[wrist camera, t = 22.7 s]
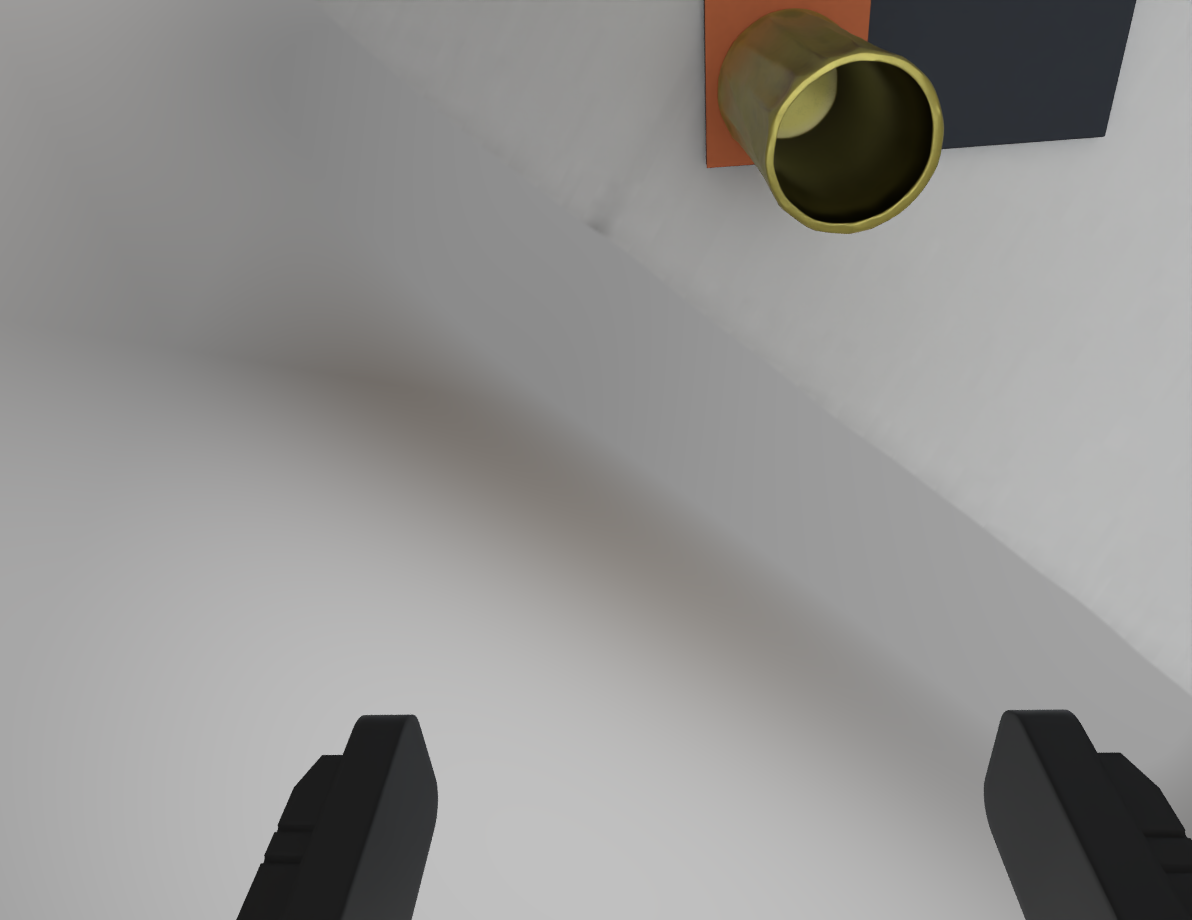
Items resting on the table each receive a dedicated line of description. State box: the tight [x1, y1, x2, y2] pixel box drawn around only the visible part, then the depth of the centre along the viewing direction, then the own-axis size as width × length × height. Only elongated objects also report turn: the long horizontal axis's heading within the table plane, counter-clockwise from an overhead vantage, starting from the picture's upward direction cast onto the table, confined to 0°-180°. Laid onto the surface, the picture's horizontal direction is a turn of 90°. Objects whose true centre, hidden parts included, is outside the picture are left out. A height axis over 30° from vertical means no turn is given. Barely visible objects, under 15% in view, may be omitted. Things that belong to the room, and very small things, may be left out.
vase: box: [718, 8, 944, 234], centre depth 30 cm, size 6×6×14 cm
